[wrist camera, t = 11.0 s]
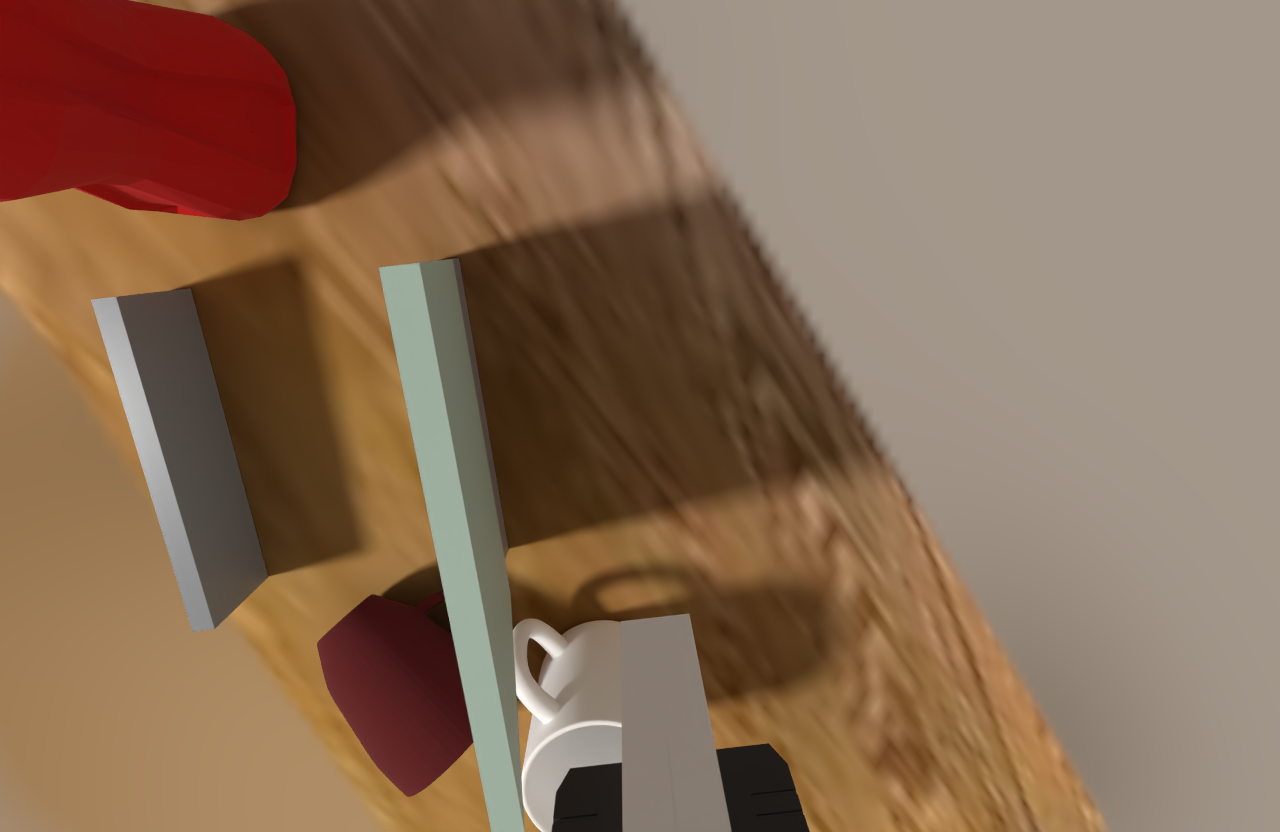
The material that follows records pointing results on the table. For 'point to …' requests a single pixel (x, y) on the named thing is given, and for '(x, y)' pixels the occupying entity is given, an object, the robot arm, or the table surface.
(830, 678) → the table surface
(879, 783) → the table surface
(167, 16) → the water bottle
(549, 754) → the cup
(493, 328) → the table surface
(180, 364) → the grey long flat pieces
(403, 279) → the lid
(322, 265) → the table surface
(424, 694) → the mug
